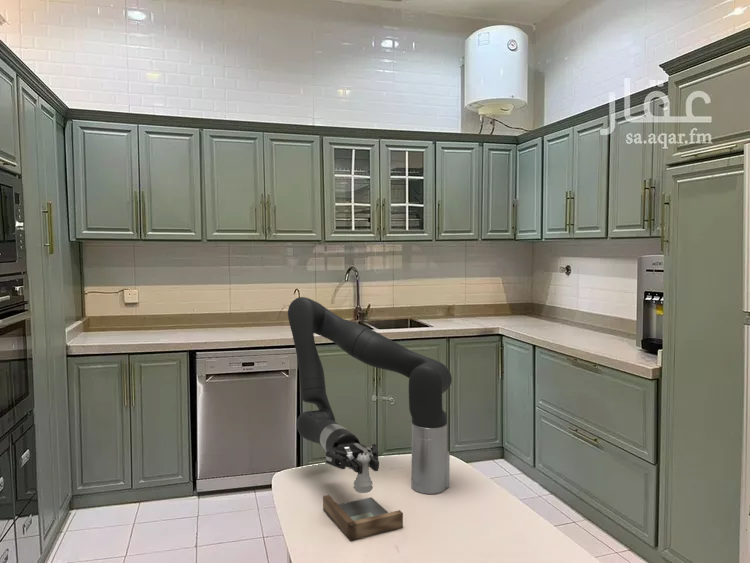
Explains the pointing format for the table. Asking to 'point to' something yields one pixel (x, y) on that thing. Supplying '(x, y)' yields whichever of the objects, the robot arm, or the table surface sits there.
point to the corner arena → (362, 517)
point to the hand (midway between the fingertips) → (369, 468)
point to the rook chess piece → (363, 475)
